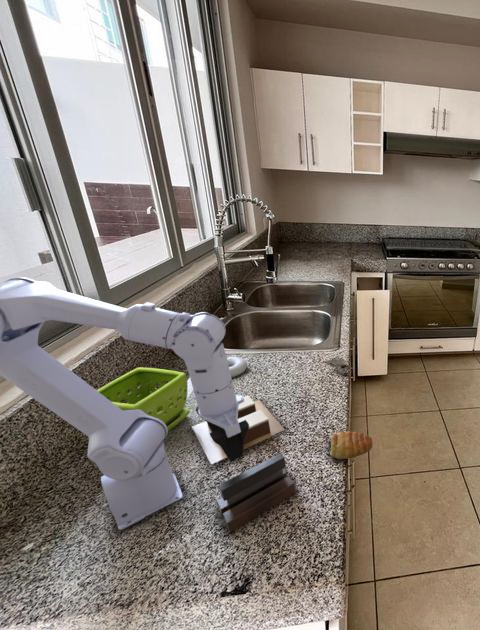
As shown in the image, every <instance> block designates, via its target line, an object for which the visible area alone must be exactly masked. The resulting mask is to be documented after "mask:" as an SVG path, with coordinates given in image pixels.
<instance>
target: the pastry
mask: <svg viewBox="0 0 480 630" xmlns="http://www.w3.org/2000/svg"><path fill="white" fill-rule="evenodd" d="M330 442H331V443H330V451H329V455H330V456H331V457H332V458H335V459H337V460H343V459H345V460H347V459H352V458H356V457H360V456H362V455H365V454H367V453H369V452H370V451H371V450H372V448H373V438H372V437H371V436H370V435H368V434H366V433H363V432H358V431H351V430H347V431H344V430H340V431H339V432H337V433H332V434H331V438H330Z"/></svg>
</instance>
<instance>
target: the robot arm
mask: <svg viewBox="0 0 480 630" xmlns="http://www.w3.org/2000/svg"><path fill="white" fill-rule="evenodd" d="M156 306H157V305H156V303H151V302H145V303H143V304H141V303H136V304H133V305H131V306H130V307H128V308H125V307H122V306H120V305H119V306H118V305H115V304H112V303H108V302H104V301H101V300H97V299H93V298H90V297H87V296H83V295H80V294H77V293H76V294H75V293H72V292H69V291H65V290H62V289H58V288H57V287H55V286H54V285H53V284H52V283H51V282H48V281H42V280H34V279H32V278H29V277H22V276H21V277H20V276H19V277H12V278H9V279H7V280H5V281H2V282H0V376H1V377H2V378H3V379H5V380H6V381H8V382H9V383H11V384H12V385H14V386H15V387H17V388H18V389H19V390H20V391H22V392H23V393H24V394H26V395H28V396H30V397H31V398H32V399H33V400H34V401H36V402H38V403H39V404H41V405H42V406H44V407H45V408H46V409H48V410H49V411H51V412H52V413H54V414H55V415H56V416H58V417H59V418H61V419H62V420H64V421H66V422H67V423H68V424H70V425H71V426H72V427H74V428H75V429H76V430H78V431H80V432H81V433H82V434H84V435H85V436H86V437H88V445H87V454H86V456H87V458H88V459H89V460H90V461H91V462H93V463H94V464H95V465H96V466H97V468H98V470H99V472H100V473H101V474H103V475H102V476H100V482H101V486H102V491H103V493H104V497H105V500H106V502H107V504H108V508H109V511H110V513H111V514H112V517H114V520H115V522H116V524H117V529H118V530H119V531H123V530H125V529H127V528H129V527H131V526H132V525H134V524H136V523H138V522H140V521H142V520H144V519H145V518H146V517H147V516H149V515H151V514H153V513H155V512H157V511H160V510H161V509H163V508H165V507H167V506H169V505H171V504H173V503H175V502H177V501H179V500H180V499H182V498H183V496H184V495H183V492H182V490H181V486H180V484H179V482H178V479H177V476H176V474H175V473H174V472H173V470H172V468H171V464H170V462H169V459H168V456H167V453H166V450H165V447H166V445H165V442H164V440H165V439H166V438H167V436H168V433H169V431H168V428H167V426H166V424H165V423H164V422H163V421H161V420H160V419H158V418H155V417H151V416H149V415H147V414H145V413H144V412H142V411H141V410H126V411H123V410H121V409H120V408H119V407H117V406H116V405H115V404H113V403H112V402H111V401H110V400H108V399H109V398H108V397H107V398H106V397H104V396H103V395H102V394H100V393H99V392H98V391H97V390H98V389H95V388H94V387H93V386H92V385H90V384H89V383H88V382H86V381H85V380H84V379H82V377H80V376H78V375H77V374H76V373H74V372H73V371H72V369H70V368H68V367H66V366H65V365H64V364H63V363H62V362H60V361H59V360H57V359H56V358H55V357H54V356H52V355H51V354H50V353H48V351H46V350H45V349H43V348H42V347H41V346H40V345H39V343H38V342H39V335H40V331H41V329H42V327H43V325H44V323H45V322H48V321H57V322H63V323H70V324H76V325H82V326H87V327H88V326H89V327H97V328H102V329H107V330H115V331H118V333H119V334H120V336H121V337H122V339H123V340H125V341H130V342H135V343H140V344H145V345H149V346H155V347H158V348H159V347H160V348H165V349H169V350H172V351H173V352H174V353H175V354H176V355H177V356H178V357H179V358H180V359H182V360H183V361H184V364H185V368H186V370H187V372H188V376H189V379H190V382H191V386H192V390H193V394H194V396H195V400H196V403H197V404H196V405H197V406H196V408H195V411H196V414H197V415H198V416H199V418H201V419H202V420H204V422H205V421H206V422H207V423H208V425H209V426H210V428H211V430H212V432H211V433H210V436H211V438H212V439H213V441H214V442H215V443H217V444H218V445H220V446H221V447H222V448H223V450H224V452H225V454H226V456H227V459H228V460H229V462H233V461H236V460H237V459H239V458H242V457H243V456H244V450H245V449H244V439H245V435H246V433H247V431H248V429H249V424H248V422H247V421H246V420H244V421H242V422H240V423H239V422H238V406H239V404H240V403H243V402H244V398H243V397H244V396H243V395H242V394H236V392H235V387H234V384H233V379H232V378H231V375H230V370H229V366H228V362H227V358H228V356H227V354H226V351H225V346H224V343H223V342H221V341H223V339H224V337H225V336H226V332H227V331H226V329H227V328H226V325H225V323H224V321H223V320H222V319H221V318H219V317H218V316H216V315H215V314H212V313H209V312H208V311H202V312H201V311H200V312H197V313H194V314H191V313H189V312H185V311H183V312H182V313H181V312H176V311H172V310H167V309H163V308H159V307H156Z"/></svg>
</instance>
